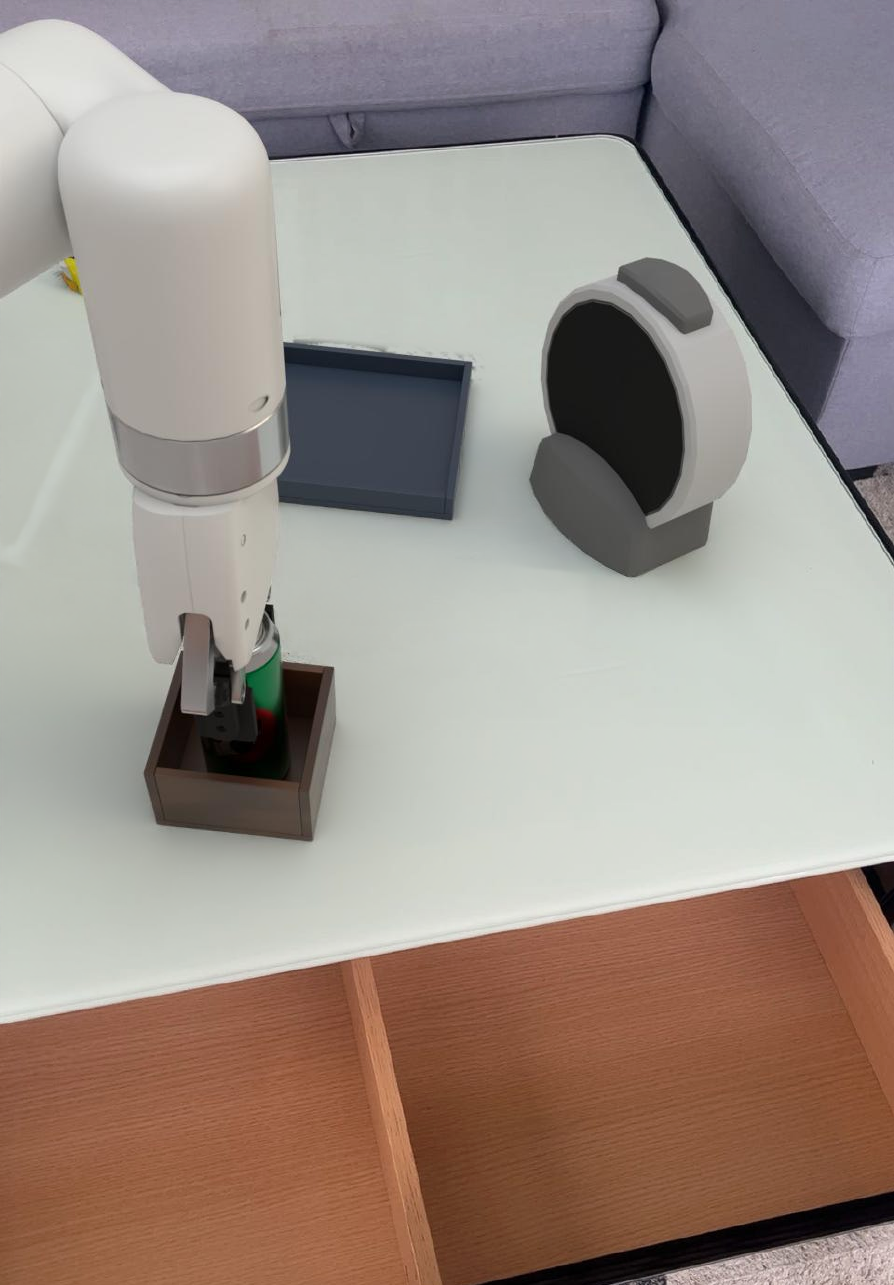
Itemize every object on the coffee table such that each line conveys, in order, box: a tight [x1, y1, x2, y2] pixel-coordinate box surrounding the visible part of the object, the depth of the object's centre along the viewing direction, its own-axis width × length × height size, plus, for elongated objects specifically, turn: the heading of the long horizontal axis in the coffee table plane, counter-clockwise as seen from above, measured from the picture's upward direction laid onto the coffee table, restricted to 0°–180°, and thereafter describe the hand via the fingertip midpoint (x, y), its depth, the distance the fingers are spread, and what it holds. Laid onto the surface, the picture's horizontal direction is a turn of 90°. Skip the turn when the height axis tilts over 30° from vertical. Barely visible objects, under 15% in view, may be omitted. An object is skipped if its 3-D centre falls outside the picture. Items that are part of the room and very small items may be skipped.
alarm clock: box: [529, 256, 753, 578], centre depth 79 cm, size 16×10×18 cm, turn 33°
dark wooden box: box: [143, 650, 337, 842], centre depth 69 cm, size 9×9×5 cm
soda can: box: [182, 610, 291, 780], centre depth 66 cm, size 5×5×12 cm
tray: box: [277, 341, 473, 521], centre depth 89 cm, size 16×16×2 cm
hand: (238, 691), depth 65 cm, fingers closed on soda can, 5 cm apart
